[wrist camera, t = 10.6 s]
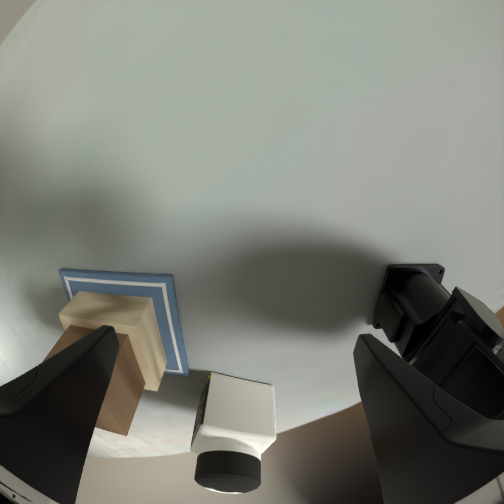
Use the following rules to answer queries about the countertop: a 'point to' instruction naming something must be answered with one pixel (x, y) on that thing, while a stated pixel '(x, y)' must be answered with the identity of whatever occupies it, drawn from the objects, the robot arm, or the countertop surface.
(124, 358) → the walnut cube
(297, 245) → the countertop surface
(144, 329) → the maple slab
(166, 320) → the blueprint board
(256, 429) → the medicine bottle
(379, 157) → the countertop surface
